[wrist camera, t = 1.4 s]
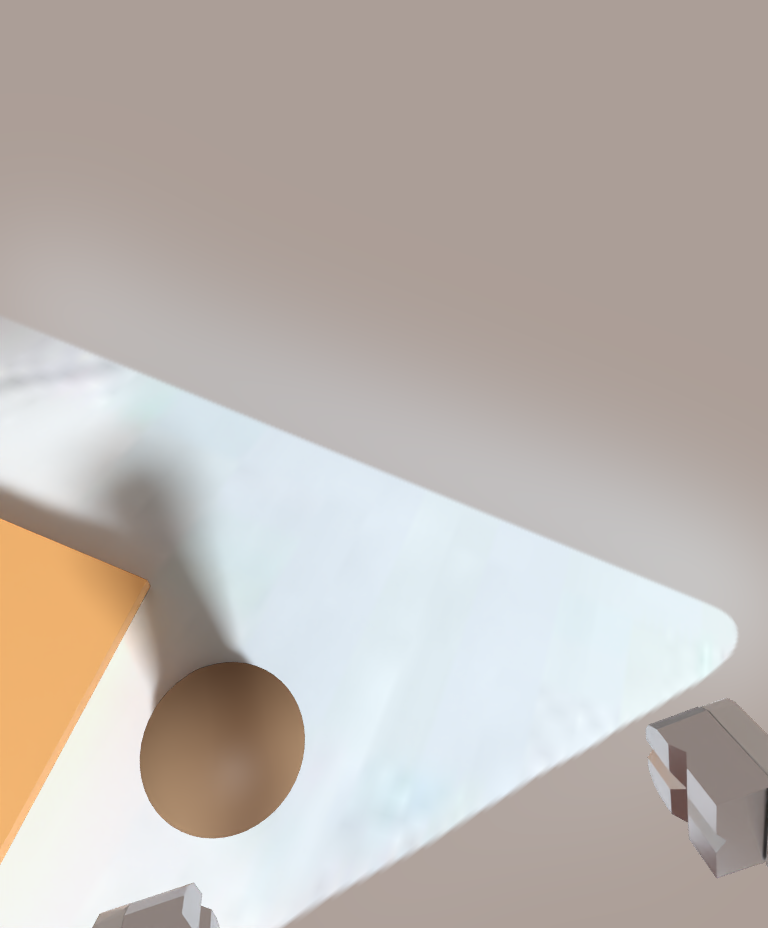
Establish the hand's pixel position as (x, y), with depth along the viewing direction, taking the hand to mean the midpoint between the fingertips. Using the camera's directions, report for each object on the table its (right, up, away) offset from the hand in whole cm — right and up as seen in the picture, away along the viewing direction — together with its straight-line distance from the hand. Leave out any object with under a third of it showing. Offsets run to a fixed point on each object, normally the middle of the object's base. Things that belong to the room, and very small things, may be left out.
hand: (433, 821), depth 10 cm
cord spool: (-12, -10, +27) cm, 31 cm away
